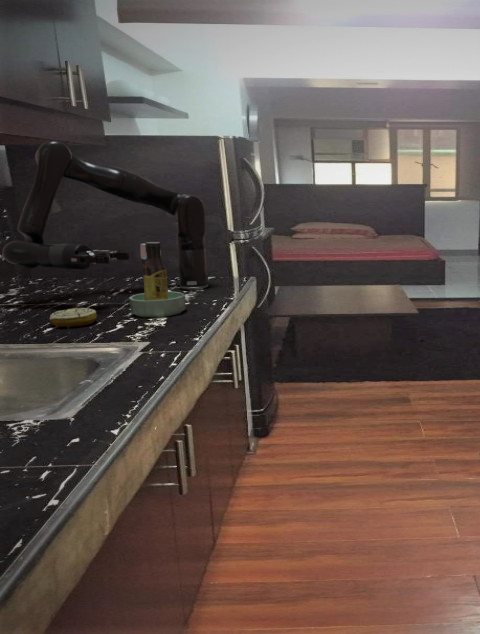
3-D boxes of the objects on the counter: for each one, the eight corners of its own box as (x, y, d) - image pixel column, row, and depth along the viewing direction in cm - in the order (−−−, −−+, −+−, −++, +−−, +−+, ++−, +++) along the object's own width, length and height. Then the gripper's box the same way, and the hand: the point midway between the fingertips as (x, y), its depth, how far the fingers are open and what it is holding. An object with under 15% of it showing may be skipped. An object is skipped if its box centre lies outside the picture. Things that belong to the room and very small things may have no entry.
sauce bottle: (160, 312, 172) (154, 243, 168) (141, 311, 174) (134, 243, 169) (174, 308, 178) (168, 241, 174) (155, 307, 180) (149, 241, 175)
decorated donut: (66, 319, 167) (64, 306, 166) (104, 319, 166) (103, 306, 166) (42, 328, 156) (40, 314, 156) (83, 328, 156) (82, 314, 156)
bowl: (152, 306, 185) (150, 290, 184) (195, 308, 182) (194, 292, 181) (119, 316, 171) (117, 299, 169) (166, 319, 168) (165, 301, 167)
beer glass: (158, 285, 222) (155, 244, 219) (139, 285, 222) (136, 244, 219) (166, 282, 229) (163, 243, 226) (148, 282, 229) (145, 242, 226)
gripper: (50, 246, 171) (100, 247, 168) (86, 241, 185) (133, 242, 182) (53, 272, 173) (103, 274, 170) (89, 265, 186) (135, 267, 183)
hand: (118, 257), depth 176 cm, fingers open, 8 cm apart
